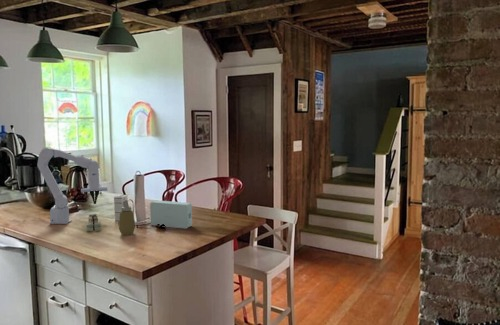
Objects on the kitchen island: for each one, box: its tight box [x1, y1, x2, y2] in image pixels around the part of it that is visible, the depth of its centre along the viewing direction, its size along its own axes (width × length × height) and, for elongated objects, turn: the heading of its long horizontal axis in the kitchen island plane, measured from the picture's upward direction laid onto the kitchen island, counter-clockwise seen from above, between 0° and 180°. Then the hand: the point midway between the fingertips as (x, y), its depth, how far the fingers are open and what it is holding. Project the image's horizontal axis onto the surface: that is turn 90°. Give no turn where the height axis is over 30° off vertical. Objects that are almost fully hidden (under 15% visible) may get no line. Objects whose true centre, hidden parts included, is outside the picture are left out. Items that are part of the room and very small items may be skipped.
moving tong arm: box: [86, 216, 94, 232], centre depth 220 cm, size 18×3×4 cm, turn 23°
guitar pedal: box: [149, 200, 193, 229], centre depth 223 cm, size 23×6×13 cm, turn 72°
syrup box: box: [113, 194, 129, 222], centre depth 236 cm, size 6×6×14 cm
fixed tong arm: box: [88, 213, 102, 232], centre depth 223 cm, size 22×6×4 cm, turn 23°
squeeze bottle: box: [118, 200, 136, 237], centre depth 206 cm, size 8×8×18 cm
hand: (94, 203), depth 237 cm, fingers closed
